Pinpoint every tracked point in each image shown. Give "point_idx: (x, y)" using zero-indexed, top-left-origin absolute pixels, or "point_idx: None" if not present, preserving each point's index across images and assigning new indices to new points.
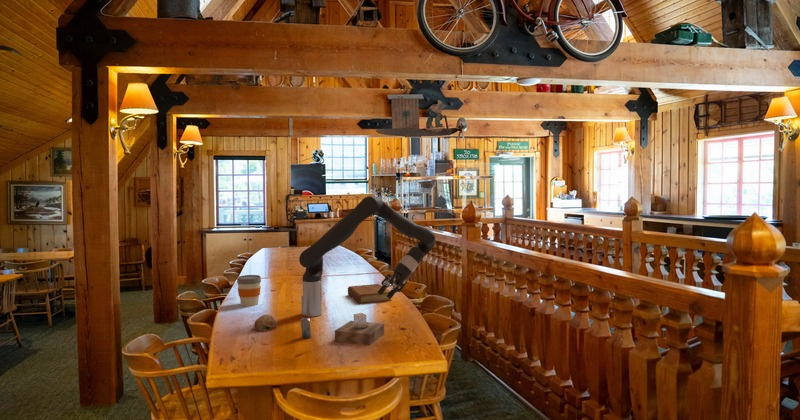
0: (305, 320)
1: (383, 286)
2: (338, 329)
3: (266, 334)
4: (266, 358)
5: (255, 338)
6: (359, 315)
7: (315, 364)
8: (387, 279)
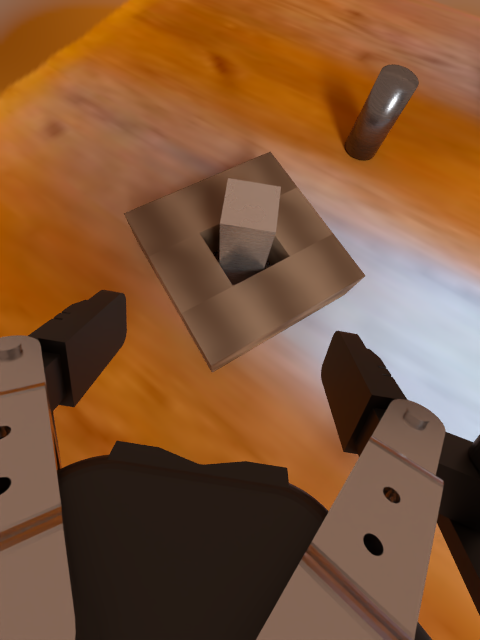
0: (380, 72)
1: (373, 411)
2: (274, 168)
3: (452, 93)
4: (253, 14)
5: (429, 63)
6: (234, 191)
7: (123, 54)
8: (435, 527)
